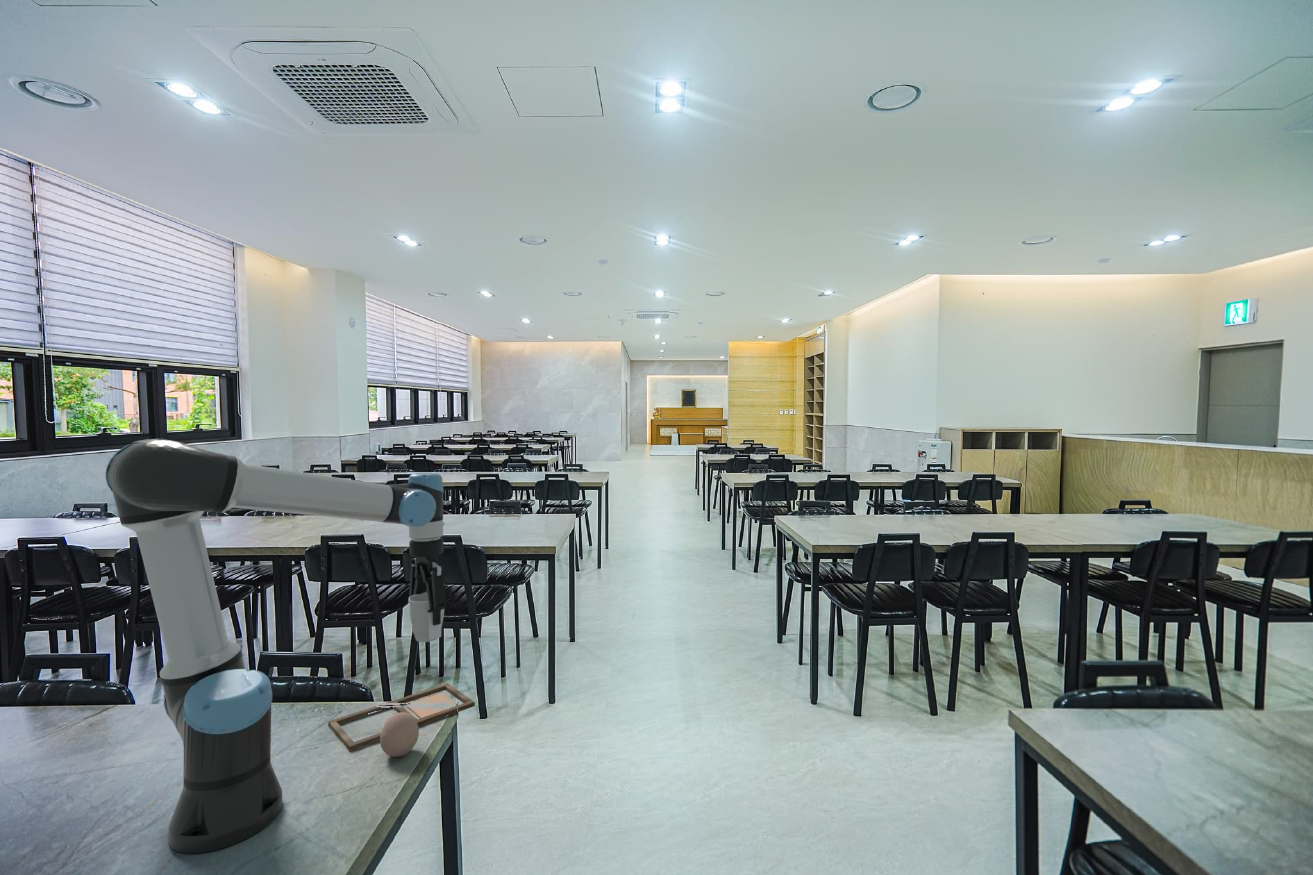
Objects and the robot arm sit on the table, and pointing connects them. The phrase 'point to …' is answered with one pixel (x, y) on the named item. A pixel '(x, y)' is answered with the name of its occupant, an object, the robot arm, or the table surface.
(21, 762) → the table surface
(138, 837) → the table surface
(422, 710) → the pad
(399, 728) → the egg
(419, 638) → the cup
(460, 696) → the brown wooden divided frame
